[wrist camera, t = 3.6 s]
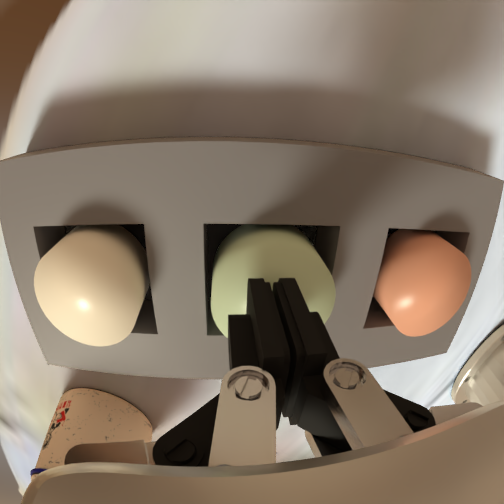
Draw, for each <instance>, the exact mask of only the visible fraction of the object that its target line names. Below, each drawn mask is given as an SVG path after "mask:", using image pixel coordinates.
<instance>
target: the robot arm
mask: <svg viewBox="0 0 504 504" xmlns="http://www.w3.org/2000/svg"><path fill="white" fill-rule="evenodd" d="M228 352H229V367H230V371H229V372H228V373H227V374H226V375H225V376H224V377H223V380H222V383H221V389H220V393H219V394H218V395H217V396H216V397H214V398H213V399H212V400H210V401H209V402H208V403H206V404H205V405H204V406H202V407H201V408H200V409H198V410H197V411H196V412H194V413H193V414H192V415H190V416H189V417H188V418H186V419H185V420H184V421H182V422H181V423H179V424H178V425H177V426H175V427H174V428H172V429H171V430H170V431H168V432H167V433H165V434H164V435H163V436H161V437H160V438H159V439H158V440H157V441H155V442H146V443H145V441H144V440H136V441H125V442H111V443H89V444H79V445H75V446H74V447H72V448H71V449H70V450H69V451H68V452H67V454H66V456H65V461H64V465H62V466H57V467H54V468H51V469H48V470H45V471H43V472H41V473H40V474H38V475H37V476H36V477H35V478H34V479H33V480H32V481H31V483H30V484H29V486H28V488H27V489H26V491H25V494H24V496H23V499H22V501H21V504H504V324H503V325H502V326H501V327H499V328H498V329H497V330H496V331H495V332H494V333H493V334H492V335H491V336H489V337H488V338H487V339H486V340H485V341H484V342H483V344H482V345H481V346H480V347H479V348H478V349H477V350H476V351H475V353H474V354H473V355H472V356H471V357H470V359H469V360H468V361H467V363H466V364H465V366H464V367H463V368H462V370H461V372H460V373H459V375H458V376H457V378H456V380H455V382H454V385H453V388H452V391H451V397H452V400H453V401H454V402H455V404H453V405H445V406H435V407H431V408H430V409H429V410H428V409H427V408H425V407H423V406H421V405H419V404H416V403H414V402H411V401H409V400H407V399H404V398H402V397H400V396H397V395H395V394H393V393H390V392H388V391H386V390H383V389H382V388H381V386H380V385H379V383H378V382H377V381H376V379H375V378H374V377H373V375H372V374H371V373H370V371H369V370H368V369H367V368H366V367H365V366H364V365H363V364H362V363H360V362H358V361H356V360H353V359H347V358H341V359H340V357H339V355H338V353H337V351H336V349H335V346H334V344H333V342H332V340H331V338H330V336H329V333H328V331H327V329H326V327H325V325H324V323H323V321H322V318H321V316H320V314H319V313H318V312H310V311H309V309H308V306H307V304H306V302H305V300H304V297H303V295H302V293H301V290H300V288H299V286H298V284H297V281H296V279H295V278H279V280H278V282H274V283H273V289H272V288H271V285H270V282H265V281H264V278H248V284H247V306H246V314H232V315H228ZM281 412H282V414H283V417H289V422H290V425H296V424H297V425H298V426H299V427H300V428H302V429H304V430H305V436H306V439H307V441H308V443H309V445H310V448H311V450H312V452H313V454H314V456H315V458H310V459H303V460H296V461H289V462H281V463H276V430H277V429H278V426H279V421H280V417H281Z"/></svg>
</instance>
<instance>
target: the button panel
mask: <svg viewBox="0 0 504 504" xmlns="http://www.w3.org/2000/svg"><path fill="white" fill-rule="evenodd" d="M503 184H504V181H503V180H500V179H498V178H495V177H492V176H490V175H487V174H484V173H482V172H479V171H476V170H473V169H470V168H466V167H462V166H458V165H454V164H449V163H445V162H441V161H436V160H431V159H427V158H422V157H417V156H411V155H406V154H401V153H395V152H389V151H383V150H376V149H370V148H363V147H356V146H348V145H340V144H331V143H321V142H311V141H299V140H286V139H270V138H248V137H168V138H147V139H131V140H118V141H107V142H97V143H88V144H80V145H72V146H64V147H58V148H51V149H45V150H39V151H33V152H27V153H23V154H20V155H17V156H13V157H10V158H7V159H4V160H1V161H0V221H1V226H2V231H3V236H4V240H5V244H6V248H7V252H8V256H9V260H10V264H11V267H12V271H13V274H14V278H15V281H16V284H17V287H18V291H19V294H20V297H21V299H22V302H23V305H24V308H25V311H26V313H27V316H28V319H29V321H30V324H31V326H32V329H33V331H34V334H35V336H36V339H37V341H38V343H39V346H40V348H41V350H42V352H43V355H44V357H45V359H46V361H47V363H48V364H50V365H55V366H61V367H67V368H74V369H80V370H87V371H95V372H103V373H112V374H122V375H132V376H145V377H160V378H182V379H223V377H224V376H225V375H226V374H227V373H228V372H229V371H230V367H229V352H228V338H227V337H226V336H224V334H223V333H222V332H221V331H220V330H219V328H218V327H217V325H216V323H215V321H214V319H213V316H212V312H211V301H209V290H208V243H207V224H281V225H318V226H317V234H316V241H315V250H316V251H317V253H318V254H319V256H320V257H321V259H322V260H323V262H324V263H325V265H326V267H327V268H328V270H329V271H330V273H331V275H332V277H333V280H334V284H335V291H336V297H335V303H334V307H333V310H332V312H331V314H330V316H329V318H328V320H327V321H326V323H325V324H324V325H325V327H326V329H327V331H328V333H329V336H330V338H331V340H332V342H333V344H334V346H335V349H336V351H337V353H338V355H339V357H340V359H341V358H347V359H353V360H356V361H358V362H360V363H362V364H363V365H364V366H365V367H366V368H371V367H378V366H384V365H390V364H395V363H401V362H406V361H411V360H416V359H421V358H426V357H430V356H435V355H439V354H443V353H446V352H447V350H448V348H449V346H450V344H451V342H452V340H453V338H454V336H455V334H456V332H457V330H458V327H459V325H460V323H461V321H462V318H463V316H464V314H465V311H466V309H467V307H468V304H469V302H470V299H471V297H472V294H473V291H474V289H475V286H476V283H477V281H478V278H479V275H480V272H481V269H482V266H483V263H484V260H485V257H486V254H487V251H488V247H489V244H490V240H491V237H492V233H493V229H494V225H495V222H496V217H497V213H498V209H499V204H500V200H501V195H502V190H503ZM101 224H144V229H145V241H146V251H147V260H148V269H149V277H150V285H151V292H152V299H153V300H144V301H143V303H142V306H141V309H140V312H139V314H138V317H137V320H136V323H135V325H134V328H133V330H132V331H131V333H130V334H129V335H128V336H127V337H126V338H125V339H124V340H122V341H120V342H119V343H116V344H114V345H109V346H91V345H87V344H83V343H80V342H78V341H75V340H73V339H71V338H70V337H68V336H66V335H65V334H63V333H62V332H61V331H59V330H58V329H57V328H56V327H55V326H54V325H53V324H52V323H51V322H50V321H49V319H48V318H47V317H46V315H45V314H44V312H43V311H42V309H41V307H40V305H39V303H38V300H37V297H36V294H35V288H34V275H35V270H36V267H37V265H38V263H39V261H40V260H41V258H42V257H43V256H44V255H45V254H46V253H47V252H48V251H49V250H50V249H51V248H53V247H54V246H55V245H56V244H57V243H58V242H59V241H60V240H61V239H62V238H64V237H65V236H66V233H65V227H64V225H101ZM389 228H399V229H419V230H436V232H435V233H436V234H437V235H439V236H440V237H441V238H443V239H444V240H446V241H447V242H449V243H450V244H451V245H453V246H454V247H456V248H457V249H458V250H460V251H461V252H463V253H464V254H465V255H466V257H467V258H468V260H469V262H470V266H471V283H470V287H469V290H468V293H467V295H466V298H465V300H464V301H463V303H462V305H461V306H460V308H459V309H458V311H457V312H456V313H455V314H454V316H453V317H452V318H451V319H450V320H449V321H448V322H446V323H445V324H444V325H443V326H441V327H440V328H439V329H437V330H435V331H433V332H431V333H429V334H426V335H423V336H416V337H412V336H407V335H404V334H402V333H401V332H400V331H399V330H398V329H397V328H396V326H395V325H394V324H393V322H392V321H391V319H390V318H389V317H388V315H387V314H386V313H385V311H384V310H383V308H382V307H381V306H380V304H379V303H378V302H377V300H376V299H375V298H374V297H372V296H373V293H374V289H375V285H376V281H377V277H378V273H379V269H380V265H381V261H382V257H383V252H384V248H385V243H386V239H387V234H388V229H389Z"/></svg>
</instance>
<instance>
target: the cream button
mask: <svg viewBox="0 0 504 504" xmlns="http://www.w3.org/2000/svg"><path fill="white" fill-rule="evenodd" d="M149 284H150V277H149V269H148V260H147V254H146V252H145V250H144V248H143V246H142V245H141V243H140V242H139V241H138V240H137V239H136V238H135V237H134V235H133V234H131V233H130V232H129V231H128V230H126V229H125V228H123V227H121V226H119V225H117V224H101V225H78V226H76V227H75V228H74V229H73V230H71V231H70V232H69V233H68V234H67V235H66V236H65V237H64V238H62V239H61V240H60V241H59V242H58V243H57V244H56V245H55V246H54V247H53V248H51V249H50V250H49V251H48V252H47V253H46V254H45V255H44V256H43V257H42V258H41V260H40V261H39V263H38V265H37V267H36V270H35V275H34V288H35V294H36V297H37V300H38V303H39V305H40V307H41V309H42V311H43V312H44V314H45V315H46V317H47V318H48V319H49V321H50V322H51V323H52V324H53V325H54V326H55V327H56V328H57V329H58V330H59V331H61V332H62V333H63V334H65V335H66V336H68V337H70V338H71V339H73V340H75V341H78V342H80V343H83V344H87V345H91V346H109V345H114V344H116V343H119V342H120V341H122V340H124V339H125V338H126V337H127V336H128V335H129V334H130V333H131V331H132V330H133V328H134V325H135V323H136V320H137V317H138V314H139V312H140V309H141V306H142V303H143V301H144V298H145V295H146V293H147V290H148V288H149Z"/></svg>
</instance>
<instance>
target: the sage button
mask: <svg viewBox="0 0 504 504" xmlns="http://www.w3.org/2000/svg"><path fill="white" fill-rule="evenodd" d="M248 278H264V281H265V282H270V285H271V288H272V289H273V283H274V282H278V280H279V278H295V279H296V281H297V284H298V286H299V288H300V290H301V293H302V295H303V297H304V300H305V302H306V304H307V306H308V309H309V311H310V312H318V313H319V314H320V316H321V318H322V321H323V323H324V324H325V323H326V321H327V320H328V318H329V316H330V314H331V312H332V310H333V307H334V303H335V297H336V291H335V284H334V280H333V277H332V275H331V273H330V271H329V270H328V268H327V267H326V265H325V263H324V262H323V260H322V259H321V257H320V256H319V254H318V253H317V251H316V250H315V248H314V246H313V245H312V243H311V242H310V240H309V239H308V238H307V236H306V235H305V234H304V233H303V232H302V231H300V230H299V229H298V228H296V227H295V226H293V225H281V224H244V225H242V226H240V227H238V228H237V229H235V230H234V231H232V232H231V233H230V234H229V235H228V236H227V237H226V238H225V239H224V240H223V241H222V243H221V244H220V245H219V247H218V249H217V251H216V254H215V257H214V261H213V273H212V291H211V312H212V316H213V319H214V321H215V323H216V325H217V327H218V328H219V330H220V331H221V332H222V333H223V334H224V336H226V337H227V338H228V315H232V314H246V306H247V284H248Z"/></svg>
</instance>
